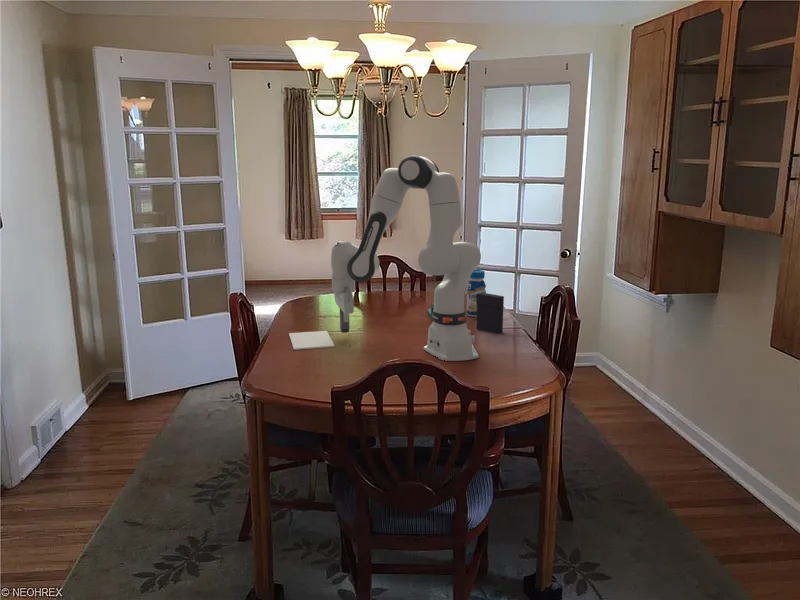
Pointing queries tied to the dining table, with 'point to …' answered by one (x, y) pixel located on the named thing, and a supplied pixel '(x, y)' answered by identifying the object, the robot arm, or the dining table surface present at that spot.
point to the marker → (343, 323)
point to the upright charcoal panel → (490, 312)
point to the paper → (311, 340)
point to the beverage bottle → (475, 291)
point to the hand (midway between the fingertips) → (344, 320)
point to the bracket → (431, 311)
